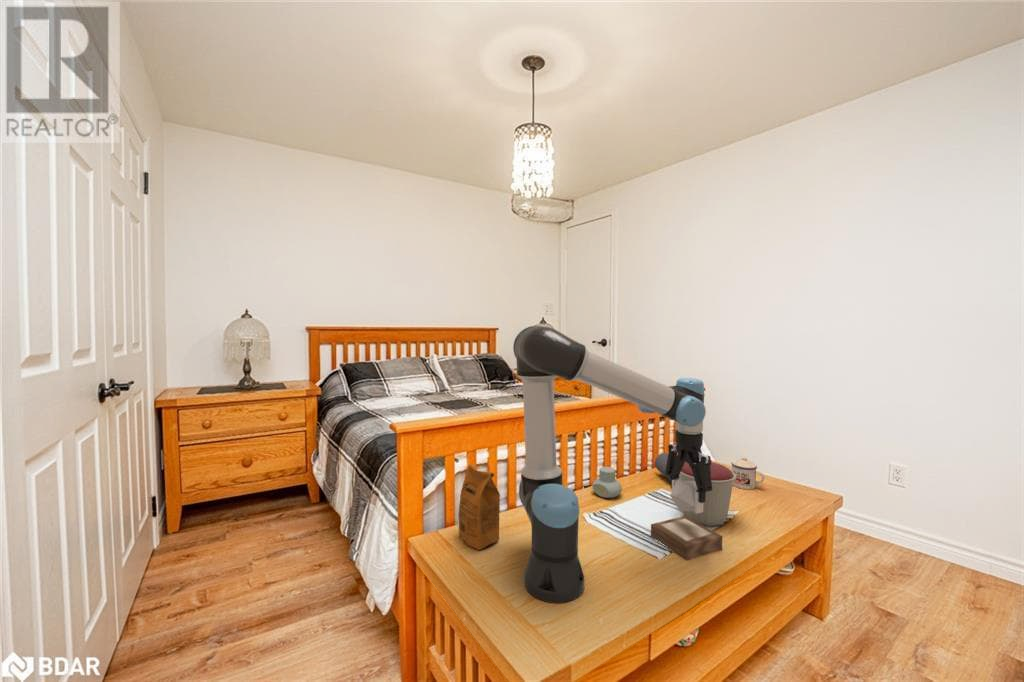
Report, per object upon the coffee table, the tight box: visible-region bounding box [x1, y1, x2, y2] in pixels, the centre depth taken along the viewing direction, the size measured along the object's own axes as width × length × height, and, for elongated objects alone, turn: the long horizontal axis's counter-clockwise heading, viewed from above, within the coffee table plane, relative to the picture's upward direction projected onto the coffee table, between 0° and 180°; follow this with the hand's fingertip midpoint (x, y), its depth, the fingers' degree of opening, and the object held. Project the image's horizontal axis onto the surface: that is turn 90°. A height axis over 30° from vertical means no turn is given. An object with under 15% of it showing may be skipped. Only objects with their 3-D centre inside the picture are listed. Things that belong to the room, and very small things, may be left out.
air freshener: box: [591, 466, 623, 499], centre depth 162 cm, size 11×8×10 cm
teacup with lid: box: [731, 456, 765, 491], centre depth 171 cm, size 12×9×12 cm
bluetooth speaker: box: [654, 452, 679, 483], centre depth 173 cm, size 23×9×10 cm, turn 10°
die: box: [669, 481, 697, 512], centre depth 128 cm, size 8×9×10 cm
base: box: [650, 515, 723, 561], centre depth 128 cm, size 14×14×4 cm
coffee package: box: [457, 463, 501, 551], centre depth 129 cm, size 10×12×22 cm
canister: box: [679, 459, 736, 527], centre depth 143 cm, size 18×18×21 cm
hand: (686, 506), depth 127 cm, fingers closed on die, 8 cm apart
